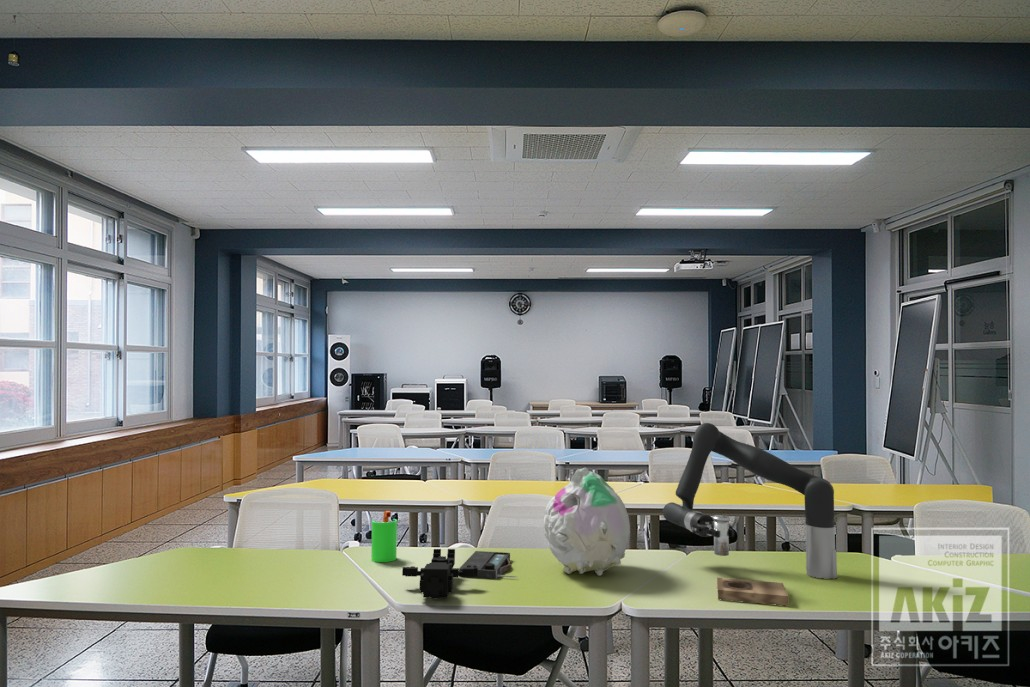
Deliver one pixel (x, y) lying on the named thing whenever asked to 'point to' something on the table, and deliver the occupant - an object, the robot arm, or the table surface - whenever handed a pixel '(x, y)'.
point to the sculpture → (587, 524)
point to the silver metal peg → (721, 535)
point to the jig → (752, 591)
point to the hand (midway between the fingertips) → (725, 534)
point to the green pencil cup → (384, 539)
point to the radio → (488, 564)
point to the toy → (439, 575)
